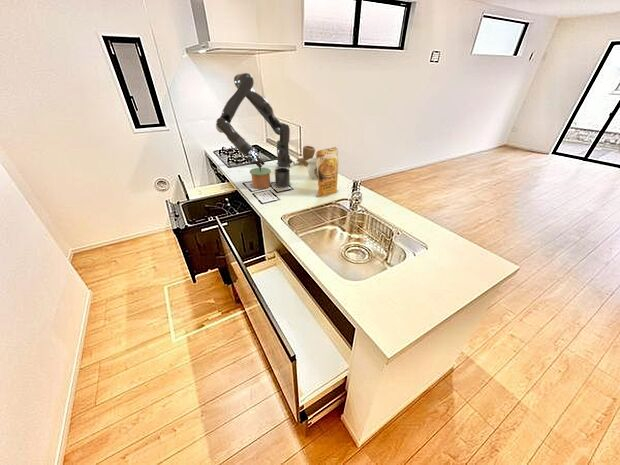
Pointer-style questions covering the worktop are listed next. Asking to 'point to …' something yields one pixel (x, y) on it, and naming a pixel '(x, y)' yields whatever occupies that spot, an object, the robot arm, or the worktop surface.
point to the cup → (282, 177)
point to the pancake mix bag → (327, 171)
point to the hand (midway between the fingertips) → (262, 165)
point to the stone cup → (306, 155)
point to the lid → (260, 170)
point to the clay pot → (261, 181)
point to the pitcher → (312, 168)
